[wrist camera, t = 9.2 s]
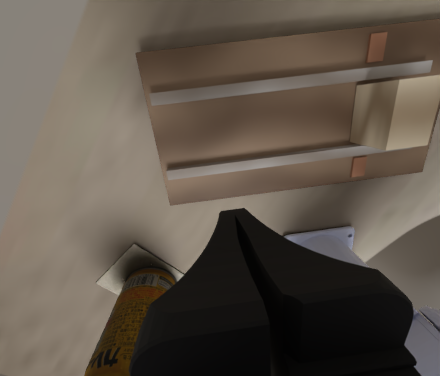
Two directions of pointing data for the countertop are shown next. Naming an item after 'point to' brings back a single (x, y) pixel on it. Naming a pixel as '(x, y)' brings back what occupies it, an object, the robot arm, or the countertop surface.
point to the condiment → (128, 308)
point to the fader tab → (395, 113)
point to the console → (278, 109)
